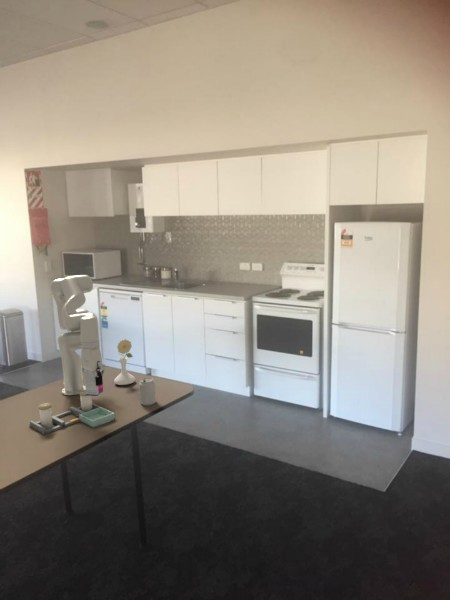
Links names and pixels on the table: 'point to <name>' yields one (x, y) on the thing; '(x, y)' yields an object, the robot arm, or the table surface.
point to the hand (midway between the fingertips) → (94, 382)
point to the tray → (97, 417)
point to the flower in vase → (124, 364)
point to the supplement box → (92, 384)
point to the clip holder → (60, 422)
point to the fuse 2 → (85, 402)
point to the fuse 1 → (46, 415)
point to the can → (147, 391)
